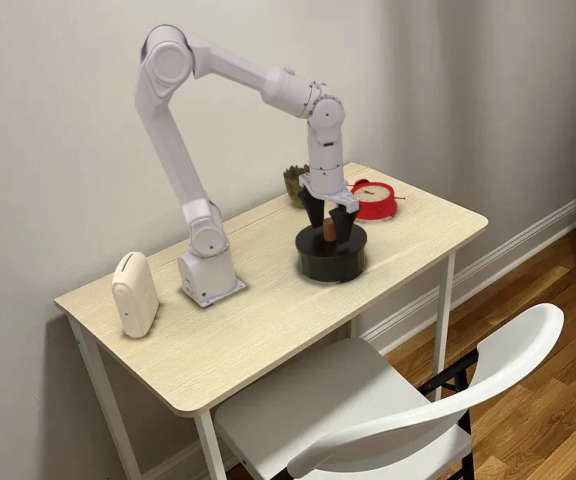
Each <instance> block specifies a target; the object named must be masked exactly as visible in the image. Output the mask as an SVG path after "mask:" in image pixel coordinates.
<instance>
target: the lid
mask: <svg viewBox="0 0 576 480" xmlns="http://www.w3.org/2000/svg"><path fill="white" fill-rule="evenodd" d="M367 244H368V233H367V231H366V230H365V229H364V228H363V227H362V226H361V225H359V224H356V223H355V222H354V223H353V226H352V230H351V234H350V238H349V241H348V242H346V243H343V244H341V245H340V244H338V242H337V239H336V232H335V227H334V223H333V220H332V218H331V216H330V217H324V220H323V226H320V227H318V228H316V229H314V228H312V225H311V224H309V225H307V226H306V227H304V228H303V229H301V230H300V231H299V232H298V233H297V235H296V236H295V238H294V246H295V249H296V250H297V252H298V251H299V252H300V253H301V254H302V255H304V256H306V257H309V258H312V259H316V260H338V259H343V258H347V257H350V256H352V255H355V254H356V253H358V252H359V251H361V250H362V249H363V248H364V247H365V248H366V245H367Z"/></svg>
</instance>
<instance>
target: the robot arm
mask: <svg viewBox="0 0 576 480" xmlns="http://www.w3.org/2000/svg"><path fill="white" fill-rule="evenodd" d="M183 31H184V32H183ZM295 72H296V70H295V69H294V67H292V66H290V65H288V64H285V66H284V67H283V66H280V65H275V66H273V67H272V66H271V67H270V68H267V69H266V68H264V67H262V66H259V65H258V64H256V63H254V62H253V61H250V60H248V59H246V58H245V57H243V56H241V55H239V54H237V53H235V52H234V51H231V50H230V49H228V48H225V47H223V46H222V45H220V44H218V43H216V42H214V41H212V40H210V39H208V38H206V37H205V36H202V35H200V34H198V33H196V32H193V31H191V30H187V29H184V30H182V29H180V28H179V27H178V26H176V25H175V24H172V23H168V22H162V23H158V24H157V25H155V26H153V27H152V28H150V30H149V31H148V33H147V35H146V37H145V39H144V41H143V42H142V44H141V47H140V48H139V57H138V65H137V72H136V77H135V78H136V79H135V85H134V92H133V103H134V107H135V110H136V112H137V114H138V116H139V119H140V121H141V123H142V125H143V127H144V129H145V132H146V134H147V136H148V138H149V140H150V142H151V144H152V147H153V149H154V151H155V153H156V155H157V157H158V159H159V162H160V164H161V166H162V168H163V170H164V173H165V175H166V177H167V179H168V181H169V183H170V185H171V188H172V190H173V192H174V194H175V196H176V199H177V200H178V202H179V205H180V207H181V211H182V214H183V217H184V220H185V222H186V225H187V228H188V235H189V243H188V249H187V250H186V251H185V252H184V253H182V255H180V256H179V257H177V267H178V271H179V275H180V279H181V283H182V288H181V289H182V291H183V292H184V293H185V294H186V295H187V296H188V297H190V298H191V300H193V301H194V302H195V303H196V304H197V305H198V306H200V307H201V308H205V307H208V306H210V305H212V304H213V303H214V302H215V301H217V300H220V299H222V298H224V297H226V296H228V295H230V294H231V295H232V294H233V293H235V292H237V291H239V290H241V289H244V288H246V286H247V285H246V283H244V282H243V281H241V280H240V279H239V278H237V276H236V272H235V271H236V270H235V265H234V261H233V254H232V249H231V243H230V239H229V237H228V236H227V232H226V231H225V228H224V224H223V220H222V212H221V208H220V207H219V206H218V205H217V204H216V203H215V202H214V201H212V200H211V198H210V196H209V195H208V192H207V191H206V189H205V187H204V186H203V184H202V183H203V182H202V181H201V179H200V177H199V174H198V171H197V170H196V167H195V165H194V163H193V160H192V158H191V155H190V153H189V151H188V149H187V146H186V144H185V141H184V140H183V137H182V135H181V132H180V130H179V128H178V126H177V123H176V121H175V118H174V116H173V113H172V111H171V109H170V106H169V104H170V101H171V99H172V98H173V95H174V93H175V92H176V91H177V90H178V89H179V88H180V87H181V86H182V85H183V84H184V83H185V82H186V81H187V80H188V79H189V77H190V75H191V74H192V75H193V79H194V80H198V79H201V78H203V77H205V76H208V75H210V74H214V75H217V76H219V77H221V78H225V79H226V80H230V81H232V82H234V83H237V84H239V85H242V86H245V87H248V88H250V89H252V90H254V91H257V92H259V94H260V97H261V100H262V102H263V103H264V104H265V105H268V106H271V107H273V108H275V109H276V110H279V111H281V112H283V113H285V114H288V115H290V116H293V117H295V118H296V119H299V120H300V119H301V120H306V127H307V137H306V139H307V151H308V152H307V153H308V164H309V165H308V166H309V167H310V173H308V172H307V173H305V174H302V175H300V176H299V184H300V186H301V187H304V189H303V190H302V191H300V192H298V193H297V196H298V198H299V199H300V200H301V202H302V204H303V205H304V207H305V208H304V209H305V212H306V214H307V217H308V219H309V222H310V225H312V228H314V229H316V228H318V227H320V226H323V220H324V219H325V204H326V202H331V203H335V204H337V207H335V208H332V209H330V210H328V214H329V216H330V217H331V218H332V220H333V223H334V227H335V232H336V239H337V242H338V244H340V245H341V244H343V243H346V242H348V241H349V238H350V234H351V230H352V226H353V223H355V221H356V219H357V218H356V217H357V215H358V213H359V212H360V210H361V205H360V204H359V199H357V198H356V197H354V196H353V194H352V193H351V192H350V191H351V189H349V188H348V187H349V186H348V185H349V180H348V179H345V175H344V173H345V172H344V150H343V134H342V125H343V124H344V122H345V119H346V113H347V112H346V110H345V109H344V105H343V102H342V101H341V99H340V98H339V97H338V95H337V93H336V92H335V91H334V90H333V89H332V88H331V87H330V86H328V85H327V84H326V83H325V82H320V81H319V80H317V79H314V80H313V81H312V80H309V79H307V78H305V77H303V76H301V75H299V74H297V73H295Z"/></svg>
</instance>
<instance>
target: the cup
mask: <svg viewBox="0 0 576 480" xmlns="http://www.w3.org/2000/svg"><path fill="white" fill-rule="evenodd" d="M307 172H308V173H310V167H309V165H308V164H306V163H305V164H304V165H303V167H299V166H298V164H296V165H295V166H294V165H290V167H289V169H288V168H287V167H286V168H285V171H283V173H282V177H283V180H284V184H285V189H286V193H287V195H288V198H289V199H290V200H291V201H292V202H294V205H295V207H296V208H299V209H305V207H304V205H303V204H302V202H301V200H300V199H299V198H298V196H297V193H298V192H300V191H302V190H303V189H304V187H301V186H300V184H299V176H300V175H302V174H305V173H307Z"/></svg>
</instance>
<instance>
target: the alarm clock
mask: <svg viewBox="0 0 576 480" xmlns="http://www.w3.org/2000/svg"><path fill="white" fill-rule="evenodd" d="M347 187H352V188H351V189H350V192H351V193H352V194H353V196H354V197H356V198H357V199H359V204H360V205H361V210H360V212H359V213H358V215H357V217H356V219H357V220H362V221H379V220H383V219H386V218H388V217H391V218H395V216H394V214H395V213H396V212H397V210H398V203H397V202H396V200H405V201H406V197H405V196H404V197H399V196H395V190H394V188H393V187H392V185H390V184H388V183H385V182H381V181H370V180H368V179H367V178H359V179H357V180H356V181H355V182H354V183H353V184H348V186H347Z"/></svg>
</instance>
